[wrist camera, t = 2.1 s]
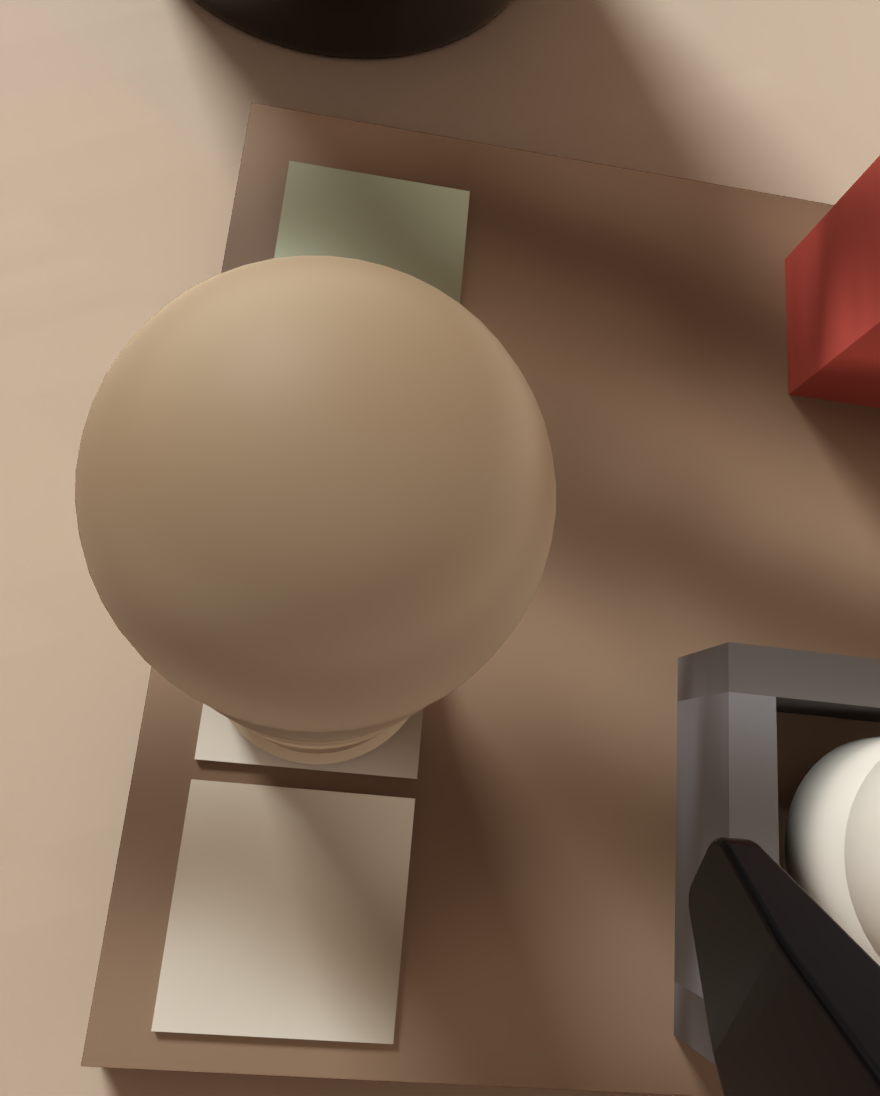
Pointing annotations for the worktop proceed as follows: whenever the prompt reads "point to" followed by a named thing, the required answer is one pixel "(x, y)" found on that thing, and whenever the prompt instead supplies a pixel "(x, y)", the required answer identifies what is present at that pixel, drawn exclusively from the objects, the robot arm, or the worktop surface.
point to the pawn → (315, 499)
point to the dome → (840, 838)
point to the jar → (357, 23)
